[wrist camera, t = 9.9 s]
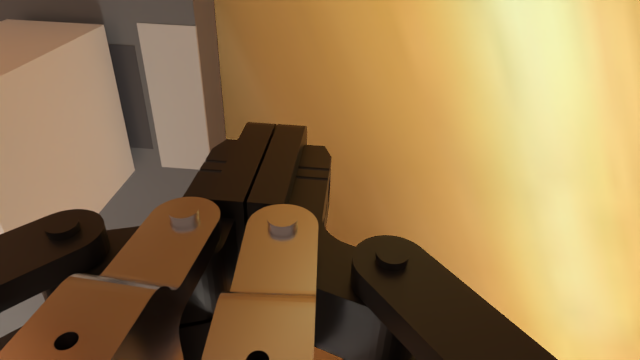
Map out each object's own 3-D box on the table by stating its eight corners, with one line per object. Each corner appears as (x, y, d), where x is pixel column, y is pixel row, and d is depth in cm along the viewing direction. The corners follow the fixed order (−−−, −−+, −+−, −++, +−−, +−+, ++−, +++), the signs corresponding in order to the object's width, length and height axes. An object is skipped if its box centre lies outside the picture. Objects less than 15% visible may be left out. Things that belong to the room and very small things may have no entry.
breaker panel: (210, -38, 15) (189, -29, 13) (249, 406, 27) (241, 440, 26) (-359, -65, 16) (-446, -59, 14) (-69, 372, 29) (-97, 402, 27)
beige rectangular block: (103, 24, 14) (-52, 102, 9) (134, 170, 16) (30, 294, 11) (6, 19, 14) (-200, 91, 9) (53, 164, 16) (-85, 282, 12)
